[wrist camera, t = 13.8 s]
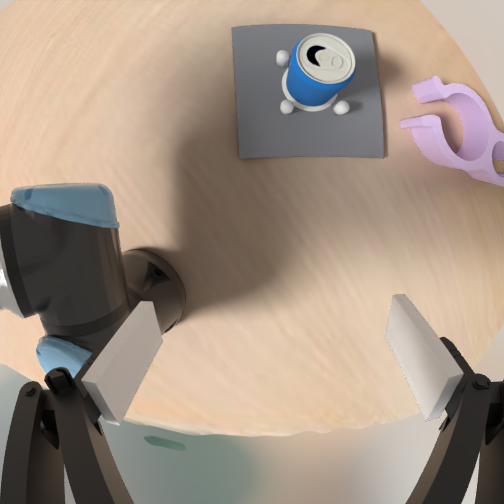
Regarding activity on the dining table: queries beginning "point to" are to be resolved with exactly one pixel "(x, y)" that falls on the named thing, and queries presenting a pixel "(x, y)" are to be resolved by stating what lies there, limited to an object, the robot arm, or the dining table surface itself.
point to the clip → (474, 126)
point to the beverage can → (319, 69)
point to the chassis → (298, 115)
